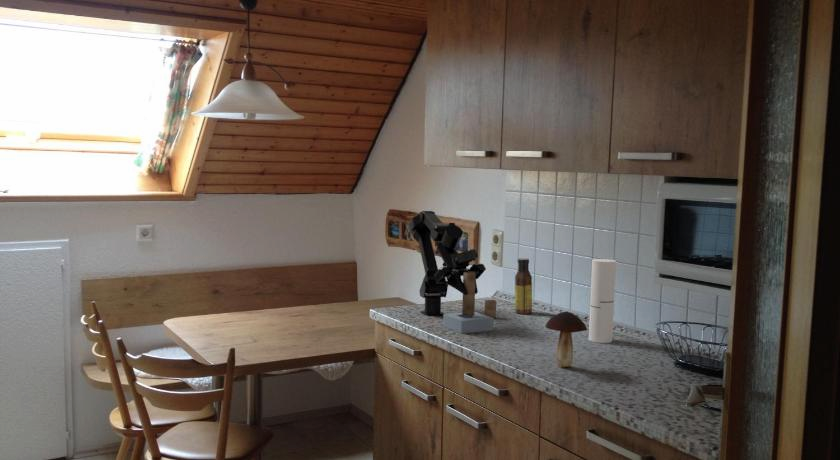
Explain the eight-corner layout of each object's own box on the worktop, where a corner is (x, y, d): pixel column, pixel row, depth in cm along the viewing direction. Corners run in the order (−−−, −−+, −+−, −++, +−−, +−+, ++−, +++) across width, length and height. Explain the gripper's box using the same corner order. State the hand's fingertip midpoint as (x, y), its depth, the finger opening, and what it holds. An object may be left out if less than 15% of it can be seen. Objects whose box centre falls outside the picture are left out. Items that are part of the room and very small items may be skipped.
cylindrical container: (612, 343, 232) (616, 262, 230) (588, 342, 233) (592, 261, 231) (611, 338, 239) (615, 259, 237) (588, 336, 240) (591, 258, 238)
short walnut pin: (482, 316, 268) (482, 300, 267) (491, 316, 270) (492, 299, 269) (488, 319, 264) (488, 302, 264) (497, 318, 266) (498, 301, 266)
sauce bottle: (531, 311, 280) (533, 257, 278) (532, 314, 274) (534, 260, 272) (513, 310, 280) (515, 257, 279) (514, 314, 274) (515, 259, 272)
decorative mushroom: (567, 360, 211) (569, 306, 210) (594, 369, 202) (596, 314, 200) (535, 364, 206) (537, 309, 205) (561, 374, 196) (563, 317, 195)
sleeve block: (443, 325, 252) (443, 313, 251) (474, 323, 257) (474, 311, 257) (461, 333, 241) (461, 321, 241) (493, 330, 247) (493, 318, 246)
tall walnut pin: (459, 313, 250) (461, 271, 248) (470, 313, 252) (471, 271, 250) (466, 316, 246) (467, 273, 245) (476, 315, 248) (477, 272, 247)
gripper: (440, 242, 244) (462, 281, 236) (483, 239, 255) (505, 276, 248) (424, 263, 251) (445, 302, 243) (466, 260, 262) (487, 296, 255)
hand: (471, 293), depth 247 cm, fingers closed on tall walnut pin, 4 cm apart
